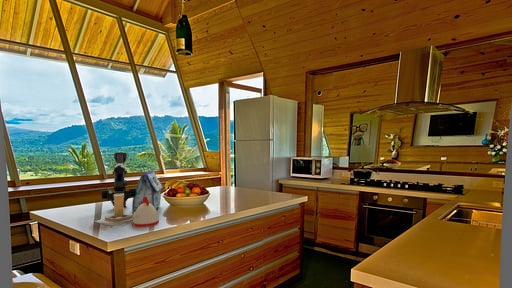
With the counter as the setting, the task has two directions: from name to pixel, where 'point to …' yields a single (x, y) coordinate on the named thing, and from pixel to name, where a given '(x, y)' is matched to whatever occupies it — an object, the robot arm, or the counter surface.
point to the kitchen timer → (145, 215)
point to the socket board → (115, 220)
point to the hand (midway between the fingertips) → (118, 205)
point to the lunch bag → (147, 190)
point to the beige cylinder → (119, 205)
